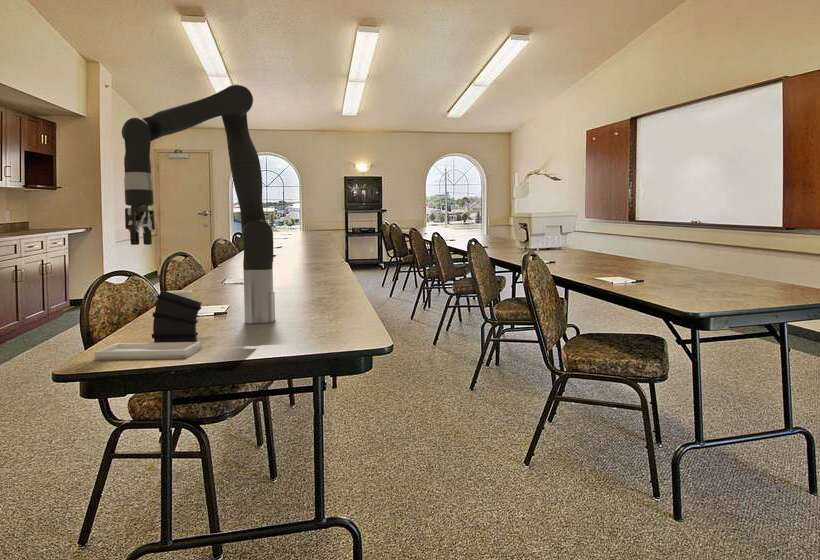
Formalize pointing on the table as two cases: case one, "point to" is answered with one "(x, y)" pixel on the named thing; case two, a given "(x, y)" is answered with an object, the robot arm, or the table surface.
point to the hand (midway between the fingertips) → (141, 244)
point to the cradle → (148, 350)
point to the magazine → (175, 318)
